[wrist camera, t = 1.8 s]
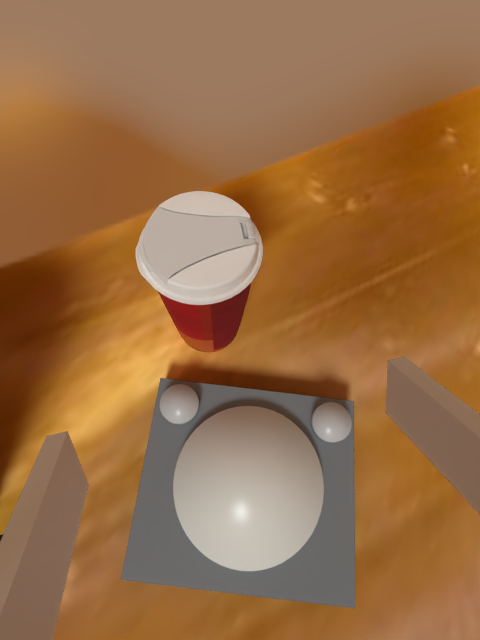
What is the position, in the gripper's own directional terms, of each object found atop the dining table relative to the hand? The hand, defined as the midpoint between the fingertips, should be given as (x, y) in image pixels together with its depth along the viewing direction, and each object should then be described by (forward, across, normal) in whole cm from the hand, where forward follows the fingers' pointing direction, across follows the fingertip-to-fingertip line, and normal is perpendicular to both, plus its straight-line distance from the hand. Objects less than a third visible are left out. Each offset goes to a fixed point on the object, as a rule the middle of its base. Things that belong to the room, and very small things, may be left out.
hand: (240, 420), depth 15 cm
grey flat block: (+10, +1, -14) cm, 17 cm away
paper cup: (+20, 0, -4) cm, 20 cm away
